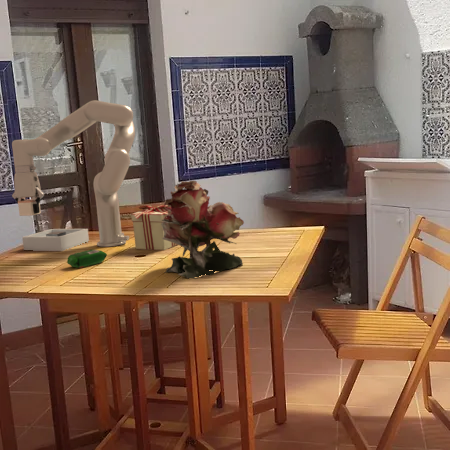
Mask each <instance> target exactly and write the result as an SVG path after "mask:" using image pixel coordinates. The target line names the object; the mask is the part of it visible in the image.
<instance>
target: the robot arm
mask: <svg viewBox="0 0 450 450" xmlns="http://www.w3.org/2000/svg"><path fill="white" fill-rule="evenodd" d="M133 119H134V111H133V110H132V108H131V107H130V106H127V105H125V104H120V103H119V104H118V103H114V102H108V101H102V100H95V99H94V100H90V101H88V102H87V103H85V104H83V105H82V106H80V107H79V108H77V109H76V110H75V111H73V112H72V113H70V114H68V115H67V116H65V117H63V119H61V120H60V121H59V122H57V124H55V125H54V126H53V127H51V128H49V129H48V130H47V131H45V132H44V133H42V134H41V135H39V136H37V137H36V138H33V139H28V138H27V139H14V140H13V141H12V142H11V146H12V148H11V149H12V156H13V164H14V171H15V174H14V178H13V179H14V182H13V183H14V191H13V193H12V195H11V197H12V198H13V199H14V200H15V201H16V203H18V201H22V200H26V199H27V198H30V199H32V201H33V203H34V204H33V211H34V214H36V213H40V210H41V208H40V209H39V203H41V200H42V199H43V198H44V196H45V193H44V192H43V191H42V189H41V188H42V187H41V184H40V180H39V176H38V173H37V172H36V170H37V167H36V166H35V163H34V157H35V156H37V157H45V156H48V155H49V153H50V152H51V151H52V150H53V149H55V148H57V147H58V146H59V145H61V144H63V143H64V142H67V141H68V140H71V139H73V138H75V137H77V136H79V134H81V133H82V132H84V131H85V130H87V129H88V128H89V127H91V126H93V125H94V124H95V123H97V122H98V123H99V122H100V123H106V124H110V125H114V135H113V138H112V140H111V142H110V145H109V147H108V148H107V151H106V154H105V156H104V166H103V168H102V170H101V171H100V172H98V173H97V174H96V175H95V176H94V179H93V191H94V196H95V204H96V214H97V216H96V217H97V223H98V224H97V226H98V234H99V241H97V242H96V246H97V247H102V248H105V247H116V246H122V245H125V244H126V243H127V241H129V239H130V235H125V232H122V223H121V215H120V204H119V203H120V201H119V195H118V191H120V189H121V186H122V184H123V182H124V180H125V177H126V175H127V173H128V170H129V167H130V164H131V157H130V151H131V149H132V146H133V144H134V141H135V137H136V128H135V124H134V121H133ZM33 156H34V157H33ZM40 214H41V213H40ZM36 215H37V214H36Z"/></svg>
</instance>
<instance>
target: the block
mask: <svg viewBox="0 0 450 450" xmlns="http://www.w3.org/2000/svg"><path fill="white" fill-rule="evenodd" d="M63 235H66V232H52V233H48V234H46V237H60V236H63Z"/></svg>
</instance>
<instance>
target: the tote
mask: <svg viewBox="0 0 450 450" xmlns="http://www.w3.org/2000/svg"><path fill="white" fill-rule="evenodd" d="M52 232H66V235H63V236H60V237H46V234H48V233H52ZM21 238H22V245H23V246H22V247H23V251H24V250H33V251H32V252H47V251H48V252H63V251H64V252H65V251H66V249H67V250H70V249H72V247H73V248H75V247H74V246H76V247H78V246H77V245H79V246H81V245H83V244H82V243H84V244H86V243H85V242H87V243H89V242H90V239H89V238H90V237H89V229H88V228H53V229H52V228H51V229H46V230H42V231H39V232H36V233H32V234H27V235H24V236H22V237H21ZM88 241H89V242H88ZM80 244H81V245H80ZM69 248H70V249H69Z"/></svg>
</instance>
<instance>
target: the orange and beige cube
mask: <svg viewBox="0 0 450 450" xmlns="http://www.w3.org/2000/svg"><path fill="white" fill-rule="evenodd" d="M40 203H41V202H40ZM40 203H39V209H40V213H36V214H34V211H33V204H34V203H33V201H32V198H29V199H27V198H26V199H25V200H22V201H18V202H17V204H18V212H19V216H20V217H21V216H22V217H30V216H36V215H39V214H41V204H40Z"/></svg>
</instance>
